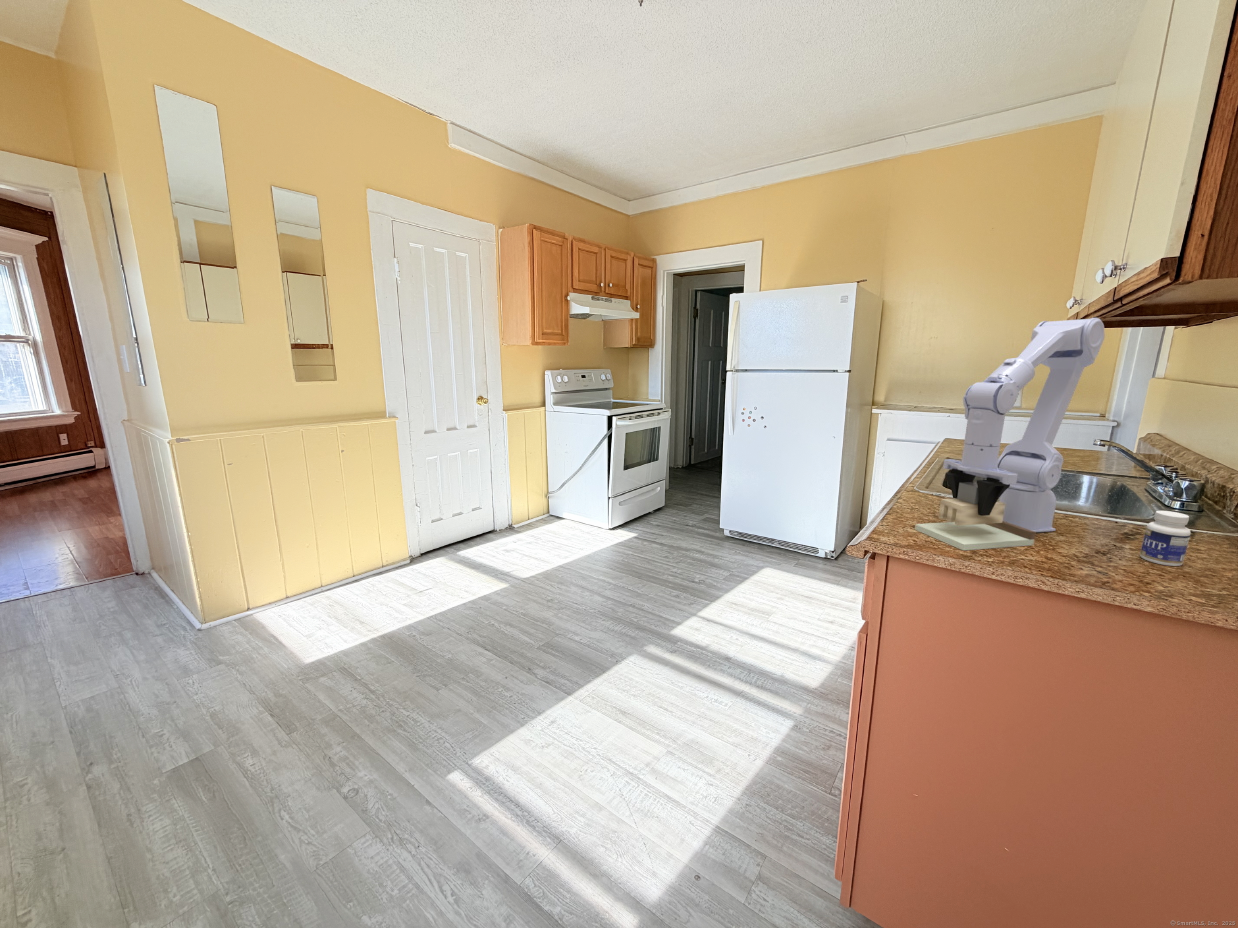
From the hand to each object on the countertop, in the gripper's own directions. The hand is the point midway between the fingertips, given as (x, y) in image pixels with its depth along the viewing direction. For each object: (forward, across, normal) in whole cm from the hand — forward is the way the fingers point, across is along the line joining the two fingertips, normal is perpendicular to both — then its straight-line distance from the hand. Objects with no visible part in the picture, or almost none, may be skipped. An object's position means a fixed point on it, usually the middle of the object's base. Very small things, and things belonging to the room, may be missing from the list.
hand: (971, 510), depth 98 cm
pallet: (+2, 0, 0) cm, 2 cm away
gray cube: (-2, 0, 0) cm, 2 cm away
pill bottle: (+6, +16, +24) cm, 30 cm away
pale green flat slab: (+6, 0, +1) cm, 6 cm away
